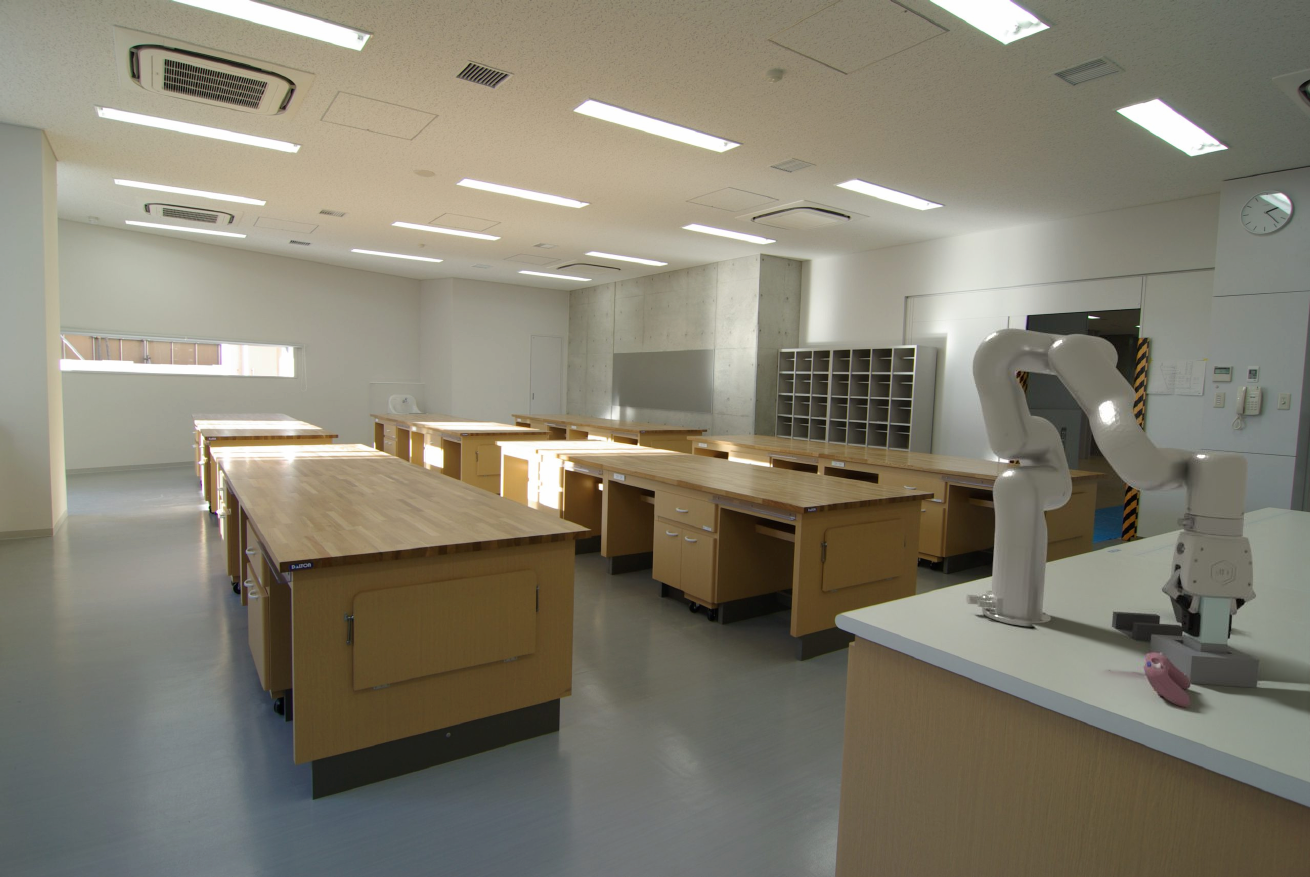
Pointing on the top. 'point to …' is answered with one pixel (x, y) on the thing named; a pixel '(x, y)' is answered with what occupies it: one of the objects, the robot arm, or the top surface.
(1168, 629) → the dark grey flanged block
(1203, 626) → the plug
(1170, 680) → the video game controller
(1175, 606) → the electrical switch
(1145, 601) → the top surface
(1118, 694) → the top surface
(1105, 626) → the top surface
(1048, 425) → the robot arm
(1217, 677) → the port
